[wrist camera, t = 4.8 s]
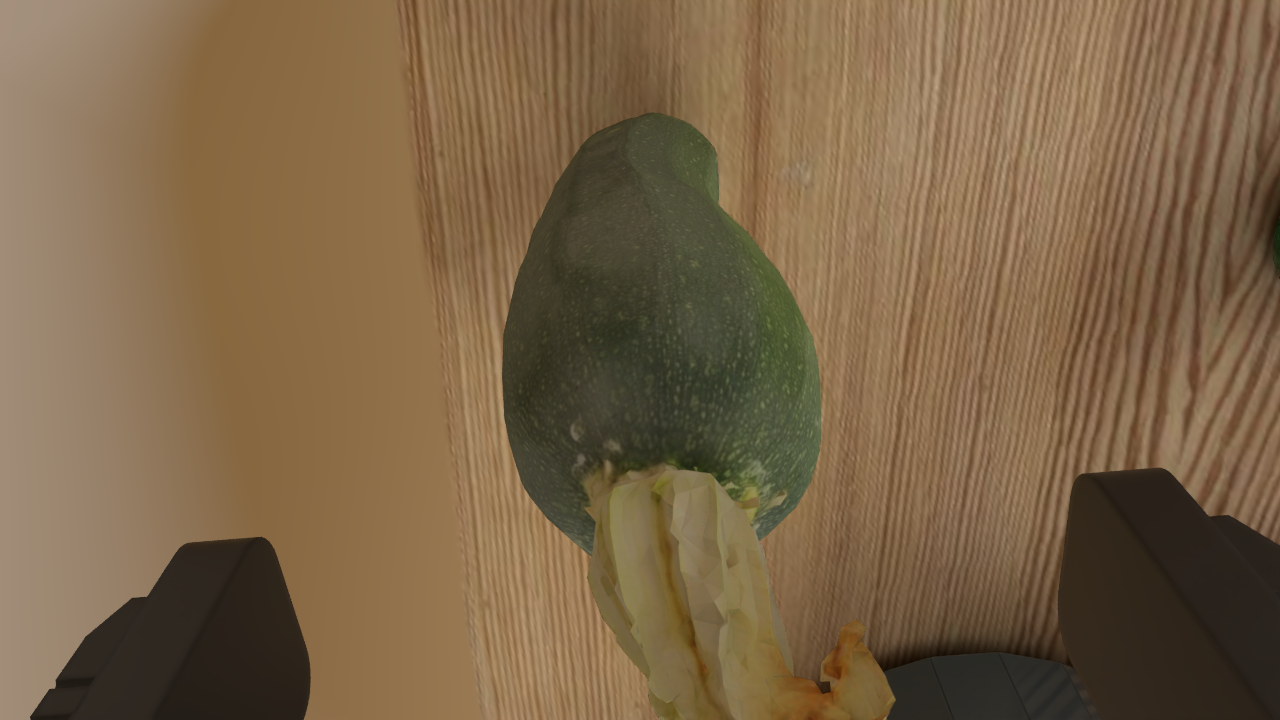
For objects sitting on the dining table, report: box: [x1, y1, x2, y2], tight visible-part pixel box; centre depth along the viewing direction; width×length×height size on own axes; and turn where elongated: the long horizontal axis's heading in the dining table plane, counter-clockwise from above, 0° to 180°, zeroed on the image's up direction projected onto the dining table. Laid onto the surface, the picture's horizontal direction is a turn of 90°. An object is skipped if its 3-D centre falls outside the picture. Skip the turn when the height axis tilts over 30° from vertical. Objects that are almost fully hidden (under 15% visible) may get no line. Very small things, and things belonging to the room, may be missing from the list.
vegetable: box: [502, 113, 896, 720], centre depth 17 cm, size 4×4×20 cm
